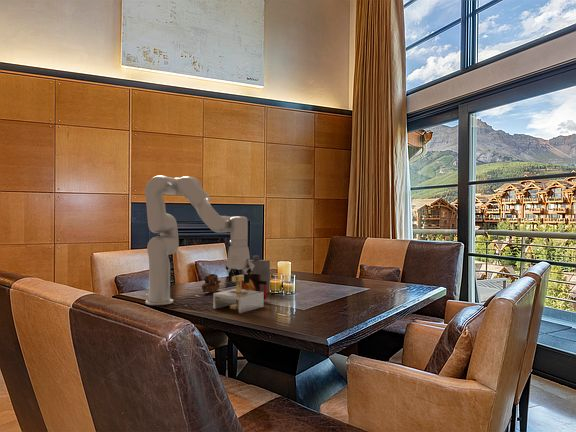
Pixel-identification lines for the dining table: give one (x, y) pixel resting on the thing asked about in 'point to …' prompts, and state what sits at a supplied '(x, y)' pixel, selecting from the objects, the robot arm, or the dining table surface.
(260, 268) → the flask
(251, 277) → the mug
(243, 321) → the dining table surface
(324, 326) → the dining table surface
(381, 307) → the dining table surface
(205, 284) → the wooden carving
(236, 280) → the tall wooden post
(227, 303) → the white slotted holder
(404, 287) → the dining table surface
